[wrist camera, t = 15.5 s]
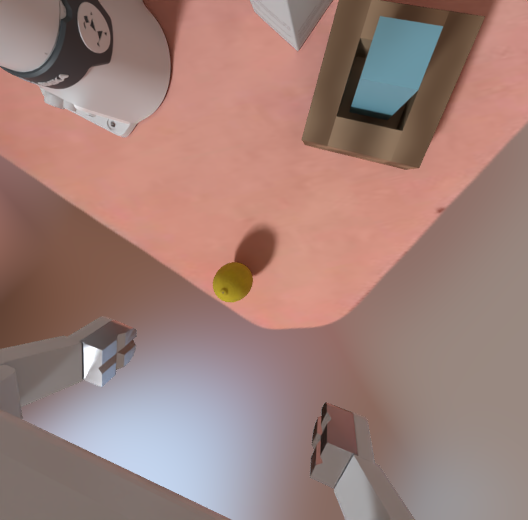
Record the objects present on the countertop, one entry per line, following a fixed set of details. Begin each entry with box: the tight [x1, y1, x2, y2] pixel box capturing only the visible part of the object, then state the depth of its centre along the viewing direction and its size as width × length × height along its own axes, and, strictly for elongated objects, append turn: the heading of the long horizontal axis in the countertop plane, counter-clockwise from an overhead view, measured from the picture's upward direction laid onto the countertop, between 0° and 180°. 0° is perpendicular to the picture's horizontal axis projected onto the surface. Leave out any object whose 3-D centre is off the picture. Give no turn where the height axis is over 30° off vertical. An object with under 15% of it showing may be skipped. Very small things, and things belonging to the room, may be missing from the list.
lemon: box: [213, 262, 253, 302], centre depth 38 cm, size 6×6×8 cm
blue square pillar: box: [349, 16, 443, 120], centre depth 24 cm, size 4×4×11 cm
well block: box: [302, 0, 485, 169], centre depth 28 cm, size 13×13×5 cm
